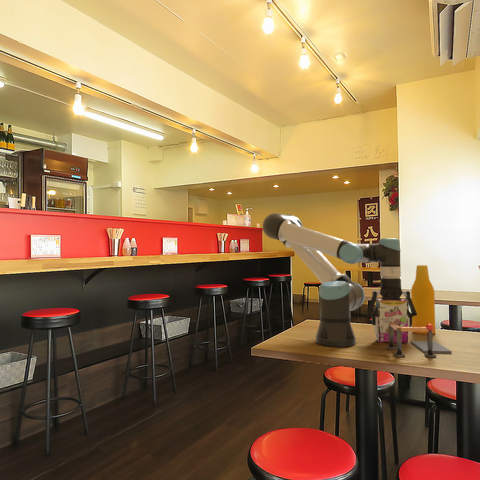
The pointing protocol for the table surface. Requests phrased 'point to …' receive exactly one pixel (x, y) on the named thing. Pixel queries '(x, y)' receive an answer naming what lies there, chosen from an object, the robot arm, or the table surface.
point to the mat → (436, 347)
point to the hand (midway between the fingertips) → (391, 333)
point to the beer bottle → (423, 299)
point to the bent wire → (399, 341)
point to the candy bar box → (391, 318)
